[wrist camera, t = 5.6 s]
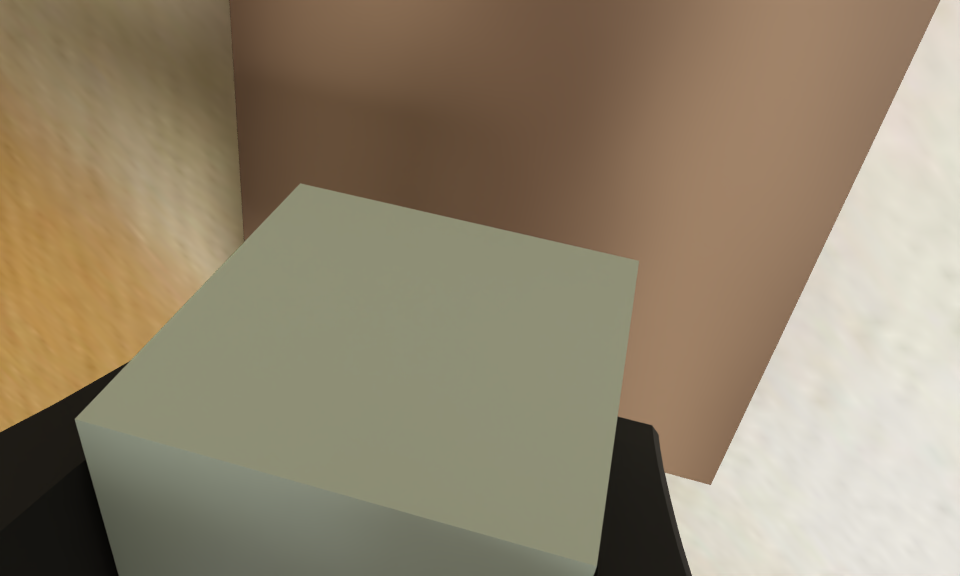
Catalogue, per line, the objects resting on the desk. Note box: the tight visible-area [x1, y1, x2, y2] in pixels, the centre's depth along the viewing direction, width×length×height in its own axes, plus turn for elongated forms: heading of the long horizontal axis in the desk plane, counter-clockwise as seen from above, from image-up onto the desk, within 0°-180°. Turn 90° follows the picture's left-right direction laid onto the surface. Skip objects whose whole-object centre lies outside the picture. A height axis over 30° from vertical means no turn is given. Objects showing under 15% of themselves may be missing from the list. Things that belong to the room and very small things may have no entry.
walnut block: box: [229, 0, 940, 485], centre depth 16 cm, size 11×11×3 cm
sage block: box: [75, 183, 639, 576], centre depth 9 cm, size 4×4×4 cm
